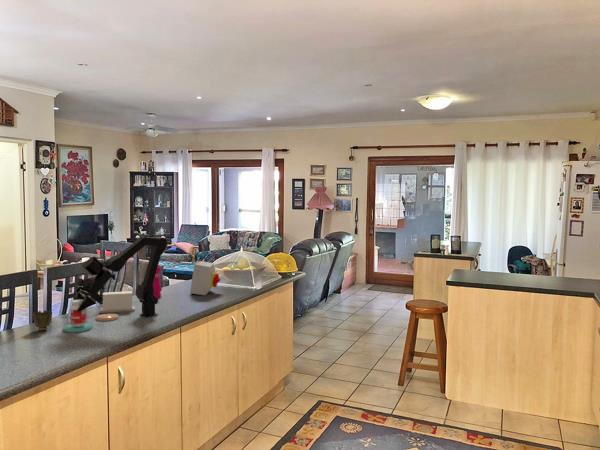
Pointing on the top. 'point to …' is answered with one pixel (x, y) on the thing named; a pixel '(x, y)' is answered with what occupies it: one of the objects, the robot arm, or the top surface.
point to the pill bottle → (77, 314)
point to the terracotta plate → (107, 317)
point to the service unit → (117, 302)
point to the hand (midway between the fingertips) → (74, 309)
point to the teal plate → (77, 328)
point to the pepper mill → (157, 284)
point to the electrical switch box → (203, 278)
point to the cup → (42, 319)
